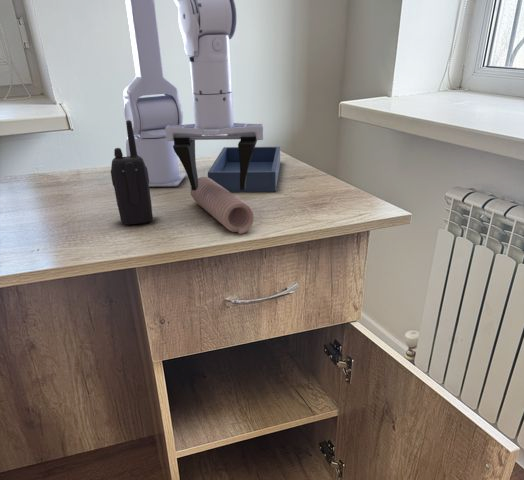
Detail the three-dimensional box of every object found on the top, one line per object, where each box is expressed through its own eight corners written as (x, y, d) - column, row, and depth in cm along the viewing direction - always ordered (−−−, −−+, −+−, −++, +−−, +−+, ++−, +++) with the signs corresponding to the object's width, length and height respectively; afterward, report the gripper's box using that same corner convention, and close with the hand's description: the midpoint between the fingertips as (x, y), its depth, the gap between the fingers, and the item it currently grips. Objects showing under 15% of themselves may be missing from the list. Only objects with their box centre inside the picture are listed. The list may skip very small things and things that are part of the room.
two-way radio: (153, 217, 82) (138, 118, 74) (157, 225, 79) (142, 122, 70) (119, 221, 81) (100, 120, 73) (121, 230, 77) (102, 125, 69)
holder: (209, 192, 94) (207, 172, 92) (224, 164, 113) (223, 147, 111) (275, 191, 93) (275, 171, 91) (280, 163, 112) (280, 146, 110)
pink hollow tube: (256, 202, 73) (215, 175, 87) (226, 203, 71) (189, 175, 85) (254, 233, 75) (214, 202, 89) (225, 235, 73) (189, 203, 87)
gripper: (155, 96, 68) (168, 195, 76) (260, 94, 67) (262, 195, 75) (167, 91, 74) (177, 183, 82) (264, 89, 73) (265, 183, 81)
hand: (219, 188), depth 79 cm, fingers open, 7 cm apart
